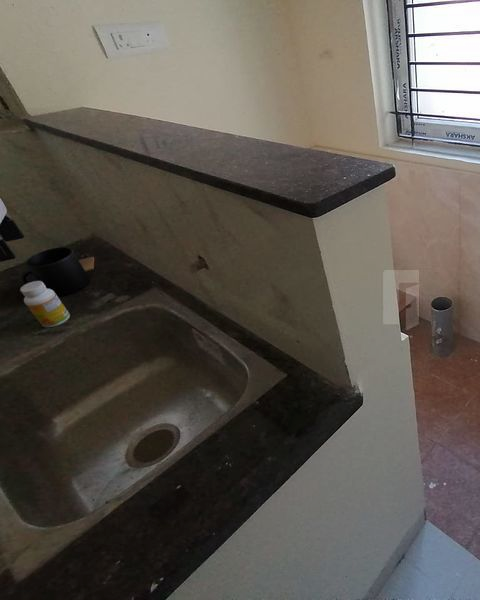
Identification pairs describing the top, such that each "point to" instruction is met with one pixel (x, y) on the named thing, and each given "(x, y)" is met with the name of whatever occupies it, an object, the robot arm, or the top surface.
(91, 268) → the cork trivet
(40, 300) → the supplement bottle
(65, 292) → the mug
